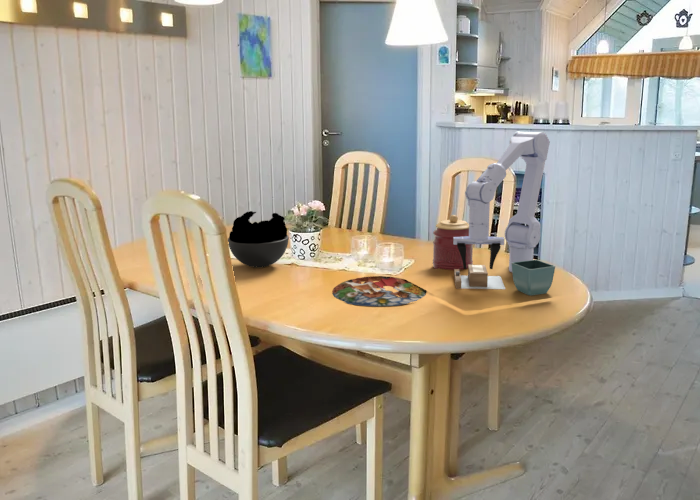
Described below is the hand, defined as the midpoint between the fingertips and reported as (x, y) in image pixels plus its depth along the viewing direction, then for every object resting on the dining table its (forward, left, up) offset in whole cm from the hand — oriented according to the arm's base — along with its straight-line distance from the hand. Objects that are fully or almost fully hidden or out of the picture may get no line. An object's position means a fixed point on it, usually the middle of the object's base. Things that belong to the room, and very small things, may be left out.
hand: (477, 268), depth 193 cm
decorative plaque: (+8, -29, -6) cm, 30 cm away
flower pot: (+9, +14, -6) cm, 18 cm away
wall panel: (0, 0, -5) cm, 5 cm away
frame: (0, 0, -4) cm, 4 cm away
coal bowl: (-17, -71, -5) cm, 73 cm away
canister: (-20, -7, -5) cm, 22 cm away
